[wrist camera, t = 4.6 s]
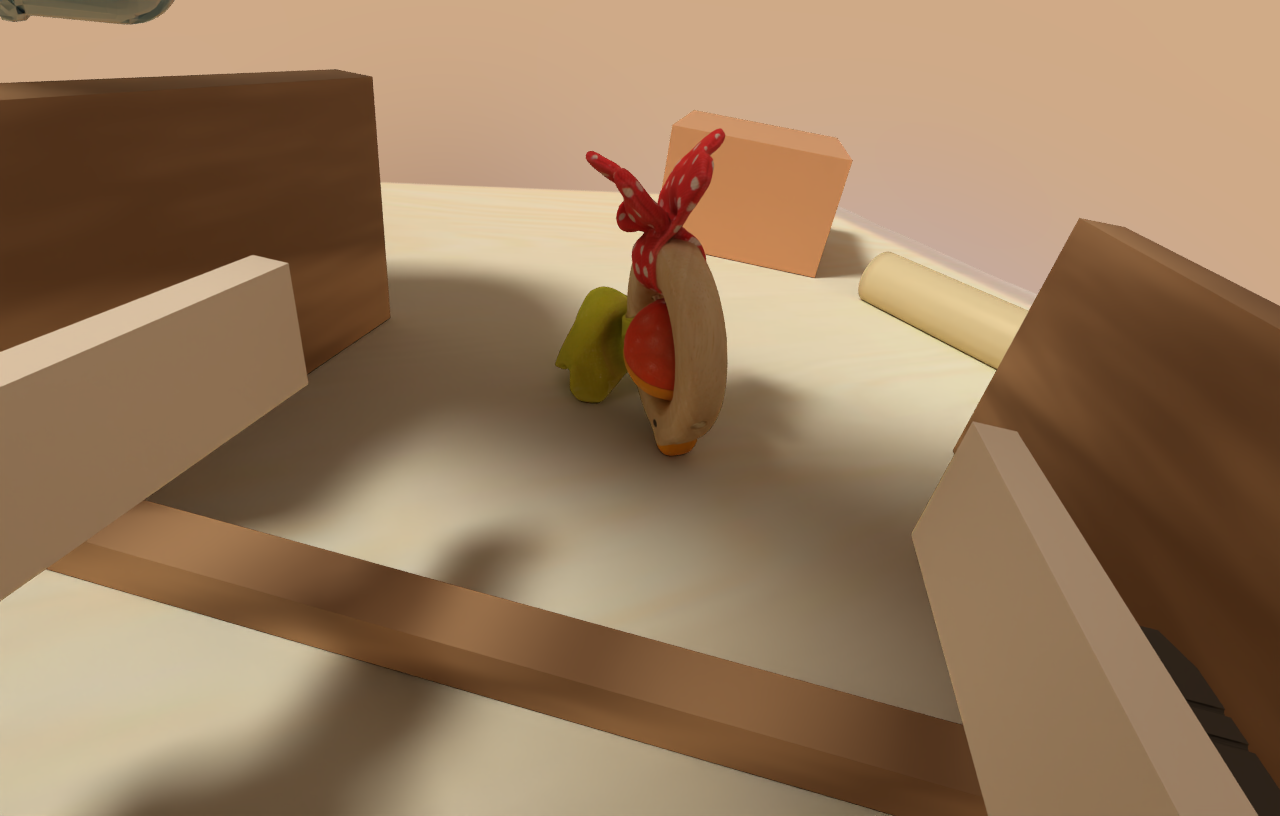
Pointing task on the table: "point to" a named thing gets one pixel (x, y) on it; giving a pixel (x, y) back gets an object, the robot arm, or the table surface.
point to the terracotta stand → (764, 191)
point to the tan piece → (942, 307)
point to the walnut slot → (586, 652)
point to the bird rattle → (657, 310)
